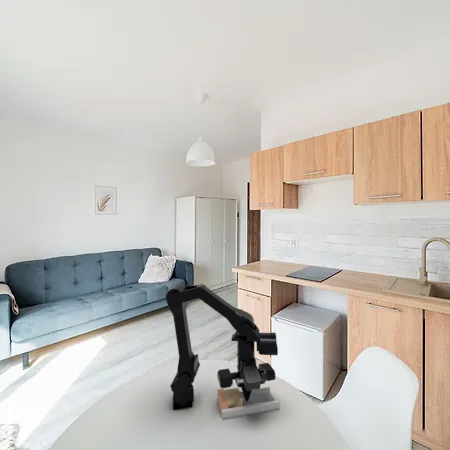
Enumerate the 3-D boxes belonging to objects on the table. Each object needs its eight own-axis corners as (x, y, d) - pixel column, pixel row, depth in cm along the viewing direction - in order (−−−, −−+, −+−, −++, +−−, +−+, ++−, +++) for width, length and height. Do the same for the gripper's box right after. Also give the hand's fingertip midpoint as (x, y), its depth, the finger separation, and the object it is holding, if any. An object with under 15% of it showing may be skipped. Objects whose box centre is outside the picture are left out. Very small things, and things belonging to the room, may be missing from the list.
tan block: (227, 413, 76) (227, 400, 76) (223, 402, 81) (223, 390, 81) (242, 410, 77) (242, 398, 77) (238, 399, 82) (238, 387, 82)
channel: (222, 423, 73) (222, 407, 73) (216, 400, 83) (216, 386, 83) (280, 413, 77) (280, 397, 78) (268, 392, 87) (268, 378, 87)
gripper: (223, 371, 70) (224, 425, 70) (282, 362, 74) (283, 413, 74) (216, 352, 81) (217, 398, 81) (268, 345, 85) (269, 389, 85)
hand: (246, 400), depth 80 cm, fingers closed
